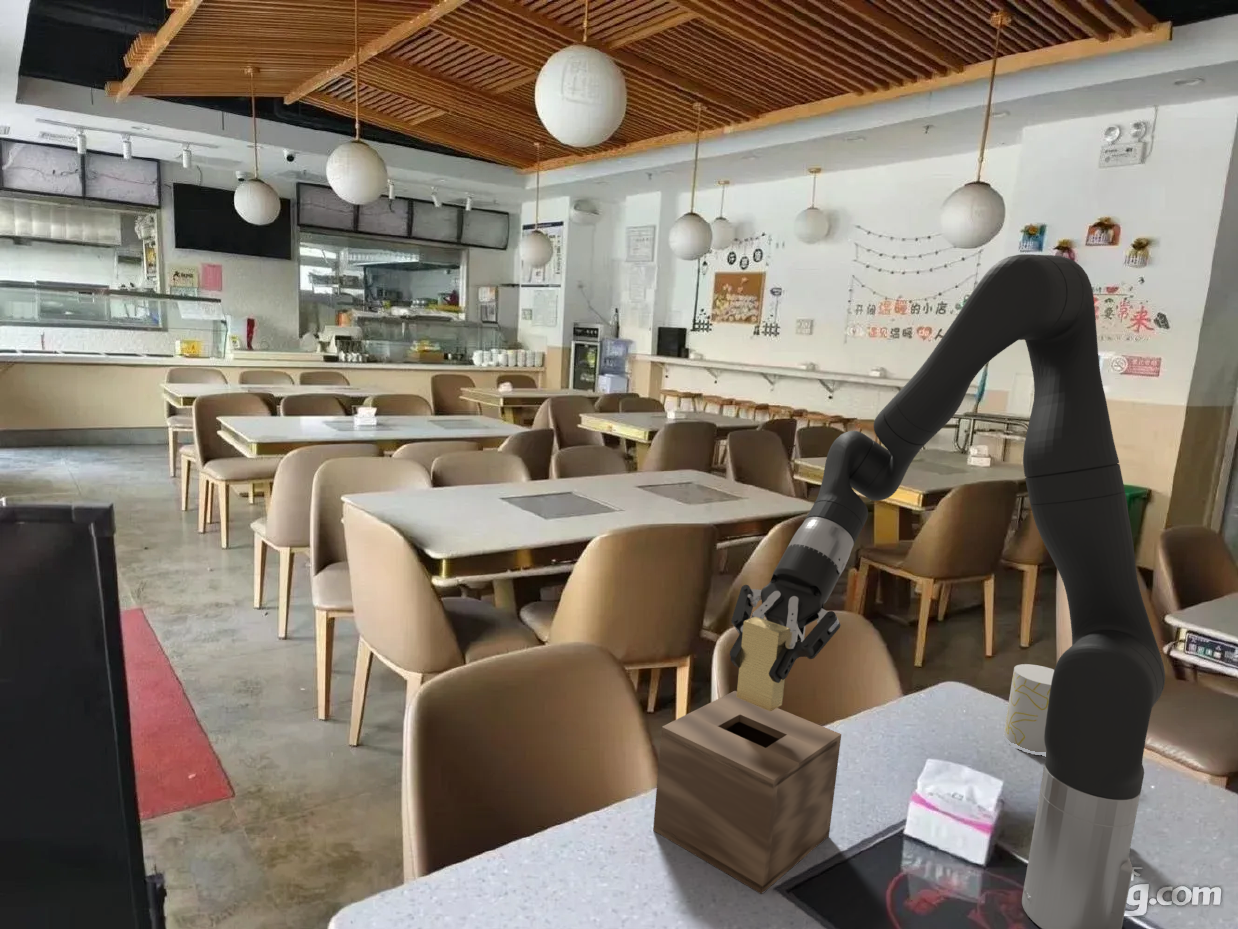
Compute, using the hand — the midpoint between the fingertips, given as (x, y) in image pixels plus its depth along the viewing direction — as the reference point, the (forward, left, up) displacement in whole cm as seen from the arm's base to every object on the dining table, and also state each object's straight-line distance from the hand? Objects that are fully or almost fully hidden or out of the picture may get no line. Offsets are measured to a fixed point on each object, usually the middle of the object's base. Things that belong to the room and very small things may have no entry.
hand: (754, 671), depth 99 cm
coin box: (0, -1, -22) cm, 22 cm away
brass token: (-1, -2, -5) cm, 5 cm away
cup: (-37, -48, -22) cm, 65 cm away
